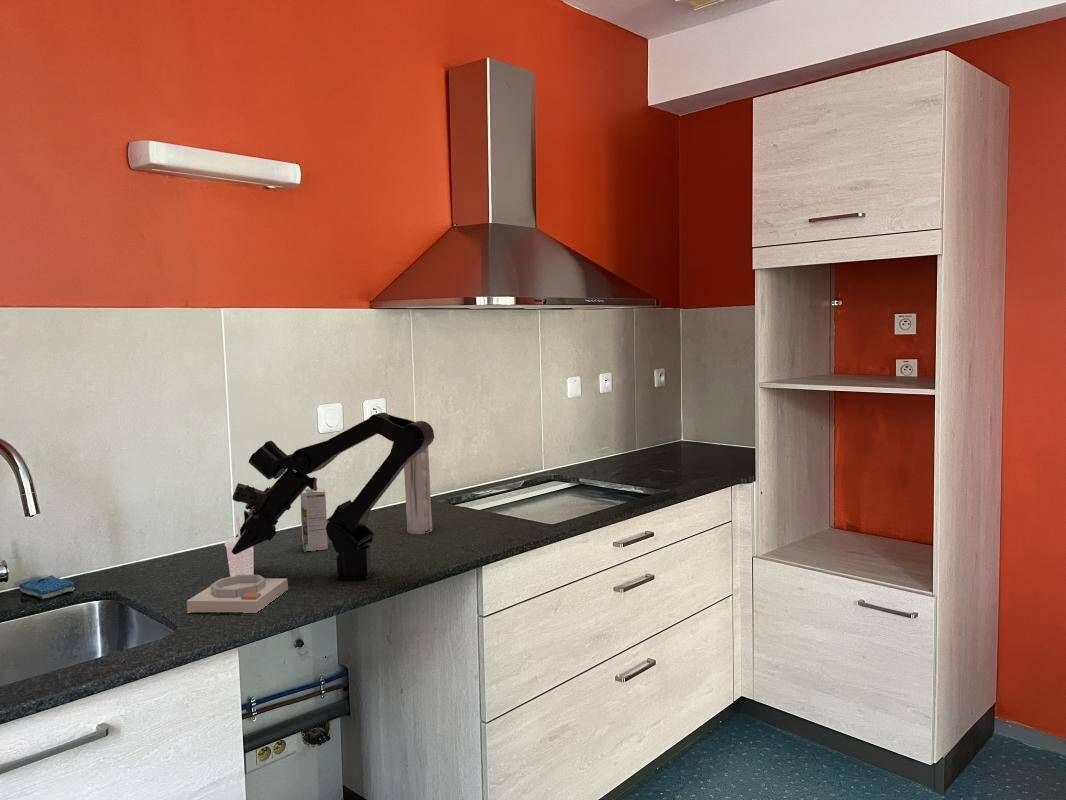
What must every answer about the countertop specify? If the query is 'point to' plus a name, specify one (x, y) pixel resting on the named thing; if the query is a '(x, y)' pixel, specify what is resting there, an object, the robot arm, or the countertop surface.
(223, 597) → the base
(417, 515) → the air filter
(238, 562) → the beverage cup
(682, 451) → the countertop surface
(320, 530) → the syrup box
